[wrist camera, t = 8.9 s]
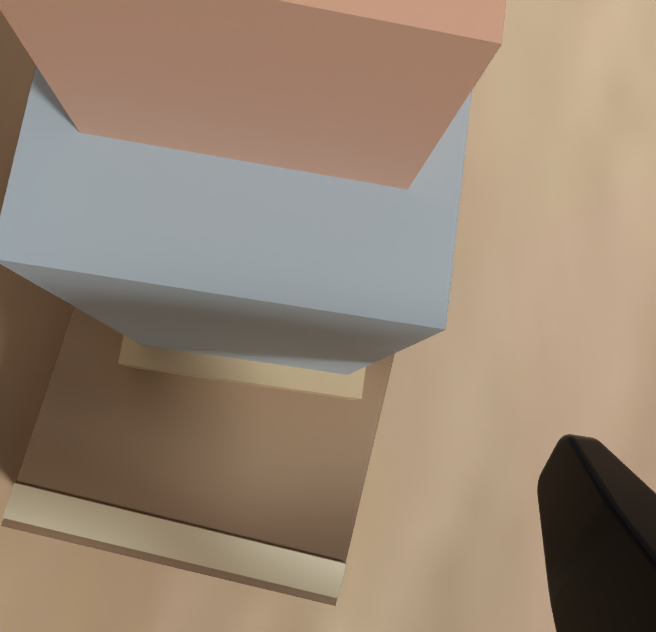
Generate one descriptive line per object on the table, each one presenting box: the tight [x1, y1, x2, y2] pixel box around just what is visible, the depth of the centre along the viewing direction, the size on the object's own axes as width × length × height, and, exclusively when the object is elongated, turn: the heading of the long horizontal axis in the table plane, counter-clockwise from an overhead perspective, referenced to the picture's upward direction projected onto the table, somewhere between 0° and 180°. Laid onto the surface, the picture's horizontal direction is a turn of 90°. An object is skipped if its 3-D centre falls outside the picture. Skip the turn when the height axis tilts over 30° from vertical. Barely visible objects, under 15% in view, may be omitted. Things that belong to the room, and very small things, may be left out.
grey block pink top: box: [0, 0, 506, 400], centre depth 10 cm, size 9×6×12 cm, turn 172°
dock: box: [2, 307, 395, 606], centre depth 17 cm, size 14×8×3 cm, turn 166°
